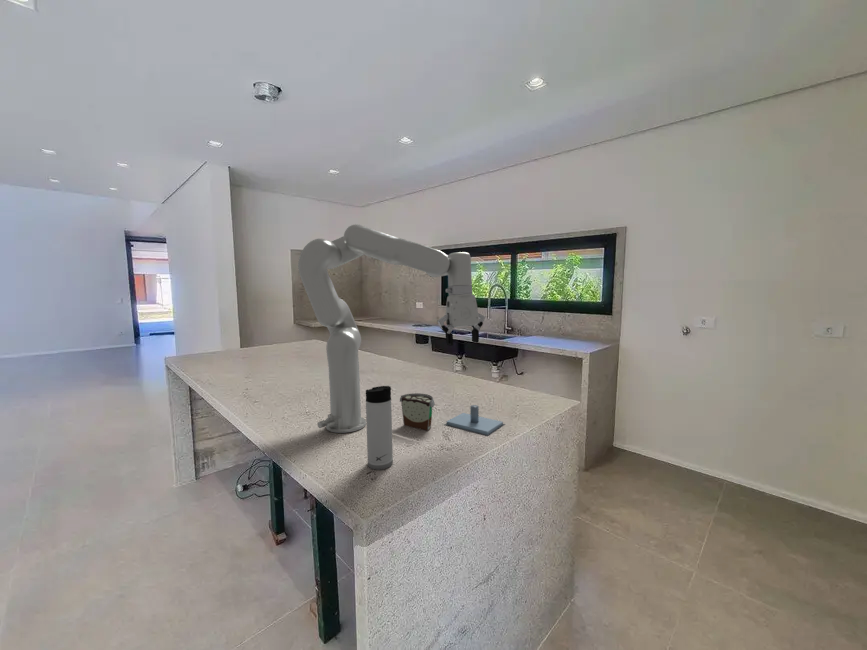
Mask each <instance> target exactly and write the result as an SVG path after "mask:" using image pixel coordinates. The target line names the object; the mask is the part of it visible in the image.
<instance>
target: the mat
mask: <svg viewBox="0 0 867 650" xmlns="http://www.w3.org/2000/svg"><path fill="white" fill-rule="evenodd" d="M505 425H506V423H503V425H502V426H500V427H499V428H497V429H496V430H494V431H493V432H491V433H490V434H488V435H486V434H482V433H478V432H474V431H471V430H467V429H463V428H459V427H455V426H451V425H447V422H446V423H444V424H443V426H446V427H450V428H453V429H458V430H459V431H460V430H461V431H465V432H469V433H473V434H475V435H476V434H477V435H480V436H484V437H490V436H491V435H493V434H494V433H495V432H496V431H498V430H500V429H501V428H502V427H504V426H505Z"/></svg>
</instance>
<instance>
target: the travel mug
mask: <svg viewBox="0 0 867 650" xmlns="http://www.w3.org/2000/svg"><path fill="white" fill-rule="evenodd" d="M391 395H392V387H391V386H389V385H380V386H379V385H378V386H374V387H371V388H370V389H366V390H365V416H366V417H365V418H366V419H365V420H366V450H367V453H366V454H367V455H366V456H367V466H368V467H369V468H370V469H373V470H377V471H379V470H380V469H381V470H385V468H386V469H388V468H390V467H391V466H392V465H393V464H394V463H393V461H394V460H393V459H394V457H393V456H394V455H393V454H394V453H393V451H394V450H393V423H392V420H393V417H392V411H393V410H392V396H391ZM381 470H380V471H381Z"/></svg>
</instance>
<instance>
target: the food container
mask: <svg viewBox="0 0 867 650" xmlns="http://www.w3.org/2000/svg"><path fill="white" fill-rule="evenodd" d="M399 402H400V403H401V411H402V421H403V426H407V427H410V428H415V429H419V430H424V431H427V432H428V431H430V430H431V429H432V421H433V419H432V418H433V417H432V416H433V408H434V407H435V405H436V404H435V399H434V398H433V396H432V395H431V394H426V393H421V392H420V393H418V392H417V393H416V392H415V393H413V392H412V393H405V394H402V395H400V398H399Z"/></svg>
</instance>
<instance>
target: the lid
mask: <svg viewBox="0 0 867 650" xmlns="http://www.w3.org/2000/svg"><path fill="white" fill-rule="evenodd" d="M469 407H470V411H469V412H470V413H467V412H466V413H465V412H462V413H460V414H458V415H456V416H454V417H452V418H450V419H448V420H446V423H447V425H451V426H455V427H459V428H463V429H467V430H471V431H474V432H478V433H482V434H486V435H488V434H490V433H491V432H493V431H494V430H496V429H497V428H499V427H500V426H502V425H503V424H504V422H503V421H502V420H497V419H492V418H488V417H483V416H479V415H480V413H479V408H480V407H479V405H476V404H472V405H470V406H469ZM502 427H503V426H502Z"/></svg>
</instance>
